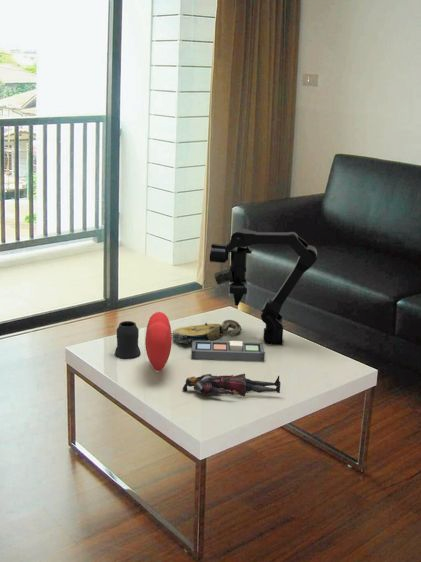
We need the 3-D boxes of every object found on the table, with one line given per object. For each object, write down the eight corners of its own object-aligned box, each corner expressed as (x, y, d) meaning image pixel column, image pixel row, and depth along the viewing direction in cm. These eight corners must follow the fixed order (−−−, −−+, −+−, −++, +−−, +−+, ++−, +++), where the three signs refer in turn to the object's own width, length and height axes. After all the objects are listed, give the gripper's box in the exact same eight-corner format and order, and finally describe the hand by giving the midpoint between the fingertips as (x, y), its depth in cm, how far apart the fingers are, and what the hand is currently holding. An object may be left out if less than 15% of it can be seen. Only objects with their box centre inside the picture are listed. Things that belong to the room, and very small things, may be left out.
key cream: (241, 347, 261) (242, 341, 260) (242, 352, 256) (242, 345, 256) (229, 347, 261) (229, 340, 260) (229, 351, 256) (229, 345, 256)
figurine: (281, 387, 222) (181, 382, 223) (280, 405, 224) (181, 400, 224) (278, 370, 235) (183, 365, 235) (277, 387, 236) (183, 382, 236)
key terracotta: (225, 350, 261) (226, 344, 260) (226, 355, 257) (226, 349, 256) (213, 350, 261) (213, 344, 260) (213, 355, 257) (213, 348, 256)
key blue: (210, 350, 261) (210, 344, 260) (209, 355, 257) (210, 348, 256) (197, 350, 261) (197, 343, 260) (197, 354, 257) (197, 348, 256)
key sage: (257, 352, 261) (258, 345, 260) (258, 356, 257) (258, 350, 256) (245, 351, 261) (245, 345, 260) (245, 356, 257) (245, 350, 256)
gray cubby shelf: (262, 350, 264) (262, 342, 263) (264, 361, 254) (264, 353, 253) (192, 348, 264) (192, 340, 263) (191, 359, 254) (191, 351, 253)
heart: (146, 359, 253) (146, 307, 248) (171, 359, 254) (172, 307, 248) (143, 383, 234) (144, 328, 229) (171, 384, 235) (172, 328, 229)
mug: (141, 358, 253) (142, 328, 250) (115, 359, 252) (114, 328, 249) (139, 345, 265) (139, 316, 261) (113, 346, 263) (113, 316, 260)
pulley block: (250, 321, 274) (178, 333, 260) (251, 336, 275) (179, 349, 261) (231, 315, 286) (161, 326, 272) (232, 330, 287) (162, 342, 273)
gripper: (216, 256, 275) (214, 296, 279) (215, 270, 257) (214, 312, 262) (246, 257, 275) (244, 297, 279) (247, 271, 257) (245, 314, 262)
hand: (236, 305), depth 271 cm, fingers closed
